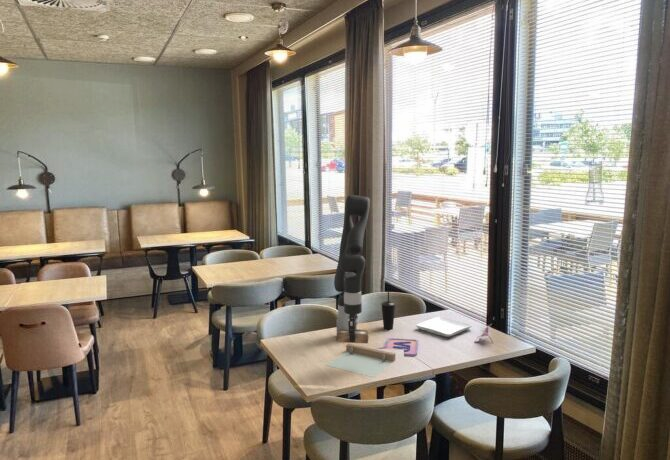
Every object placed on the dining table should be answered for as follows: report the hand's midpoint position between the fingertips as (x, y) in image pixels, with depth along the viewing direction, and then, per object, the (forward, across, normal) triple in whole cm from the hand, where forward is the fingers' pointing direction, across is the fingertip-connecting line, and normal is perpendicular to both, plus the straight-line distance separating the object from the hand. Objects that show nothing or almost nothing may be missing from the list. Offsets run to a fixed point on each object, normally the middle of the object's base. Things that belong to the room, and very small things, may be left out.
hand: (352, 339), depth 219 cm
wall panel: (+13, +3, -3) cm, 13 cm away
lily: (+13, +37, -61) cm, 72 cm away
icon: (+14, +24, -18) cm, 34 cm away
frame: (+1, 0, 0) cm, 1 cm away
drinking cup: (+14, +51, -14) cm, 54 cm away
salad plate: (+14, +51, -42) cm, 68 cm away
